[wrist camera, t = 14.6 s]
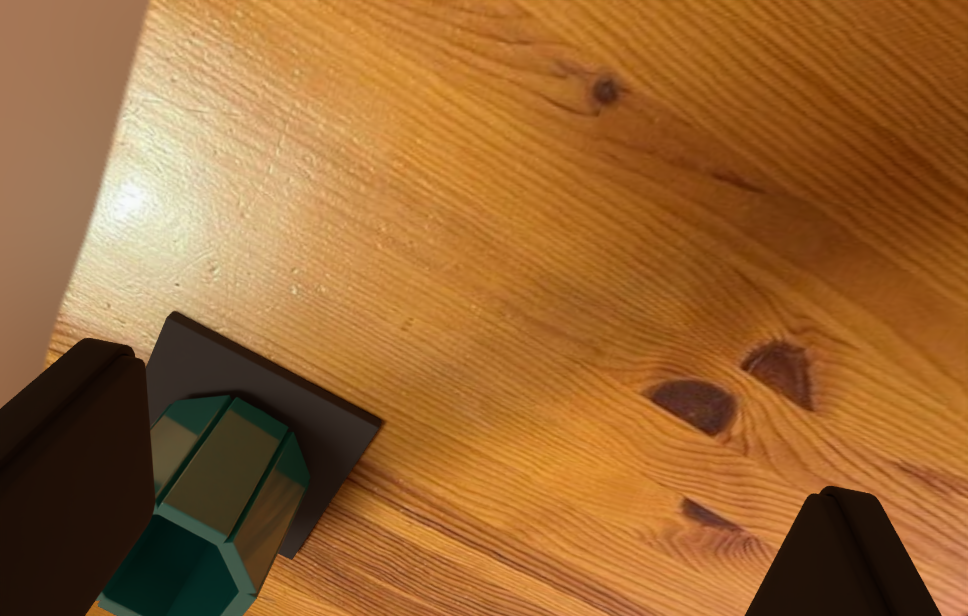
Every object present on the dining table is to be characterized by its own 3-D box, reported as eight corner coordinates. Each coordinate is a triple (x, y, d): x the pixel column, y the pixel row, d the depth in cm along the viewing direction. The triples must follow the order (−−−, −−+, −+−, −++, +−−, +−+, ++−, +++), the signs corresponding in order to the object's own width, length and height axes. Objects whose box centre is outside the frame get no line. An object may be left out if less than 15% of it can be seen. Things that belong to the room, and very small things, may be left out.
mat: (173, 310, 30) (166, 317, 29) (382, 420, 32) (379, 428, 31) (109, 461, 34) (102, 470, 34) (295, 551, 36) (291, 560, 36)
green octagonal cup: (136, 396, 32) (33, 509, 25) (283, 381, 30) (211, 495, 24) (194, 514, 35) (114, 640, 29) (328, 504, 33) (275, 633, 27)
